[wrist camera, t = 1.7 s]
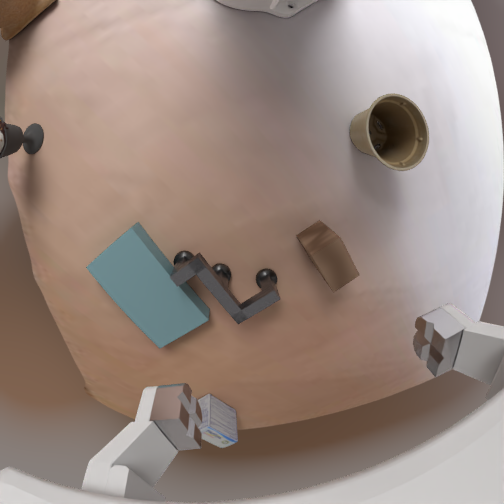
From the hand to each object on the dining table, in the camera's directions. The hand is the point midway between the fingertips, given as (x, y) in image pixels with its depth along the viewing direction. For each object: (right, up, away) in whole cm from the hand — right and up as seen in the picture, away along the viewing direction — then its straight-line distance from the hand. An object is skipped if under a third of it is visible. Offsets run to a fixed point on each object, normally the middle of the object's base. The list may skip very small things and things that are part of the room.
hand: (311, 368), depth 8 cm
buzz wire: (-6, +1, +32) cm, 32 cm away
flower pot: (+15, +21, +27) cm, 37 cm away
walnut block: (+8, +5, +32) cm, 33 cm away
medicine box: (-9, -27, +42) cm, 51 cm away
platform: (-17, -1, +32) cm, 36 cm away
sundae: (-36, +22, +22) cm, 47 cm away
